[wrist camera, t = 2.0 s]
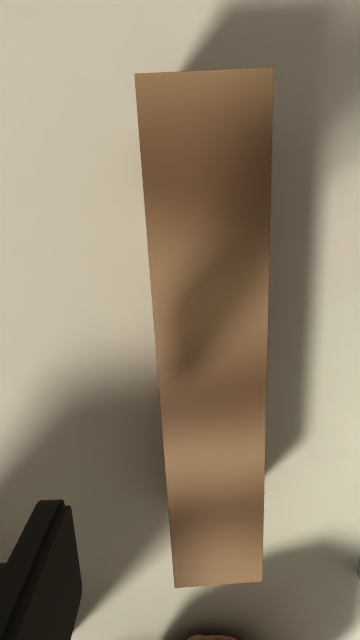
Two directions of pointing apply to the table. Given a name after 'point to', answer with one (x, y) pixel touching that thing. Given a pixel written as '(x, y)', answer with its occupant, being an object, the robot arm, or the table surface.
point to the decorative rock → (210, 637)
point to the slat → (210, 308)
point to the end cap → (358, 569)
